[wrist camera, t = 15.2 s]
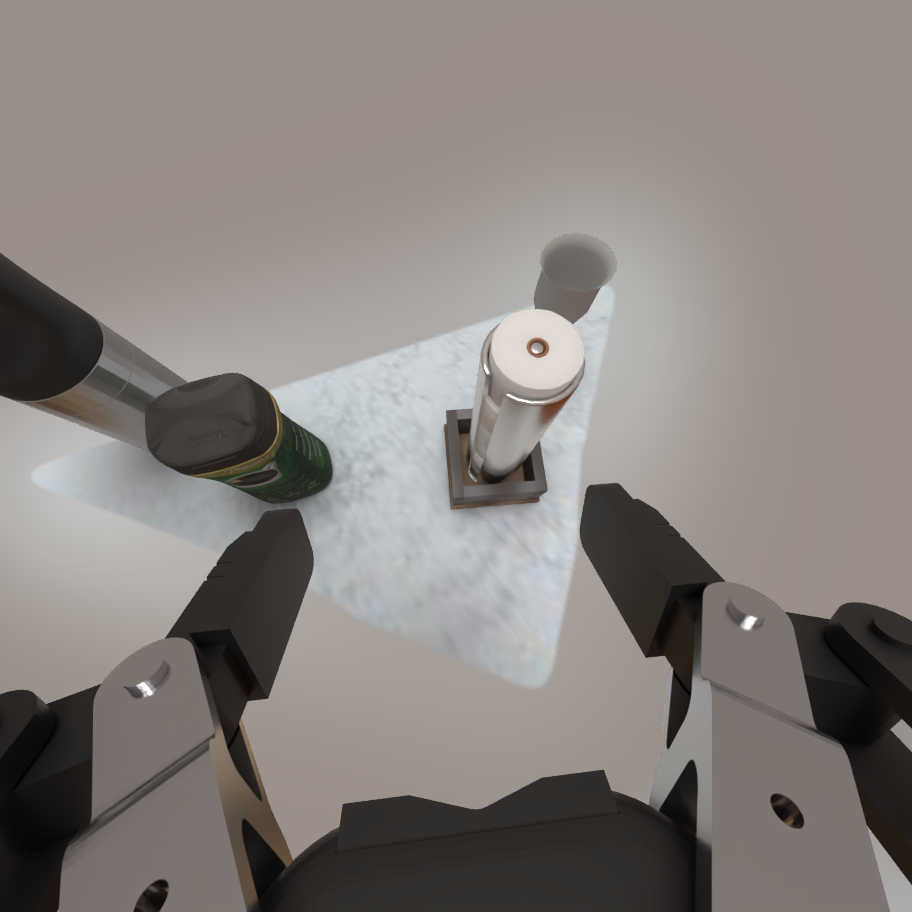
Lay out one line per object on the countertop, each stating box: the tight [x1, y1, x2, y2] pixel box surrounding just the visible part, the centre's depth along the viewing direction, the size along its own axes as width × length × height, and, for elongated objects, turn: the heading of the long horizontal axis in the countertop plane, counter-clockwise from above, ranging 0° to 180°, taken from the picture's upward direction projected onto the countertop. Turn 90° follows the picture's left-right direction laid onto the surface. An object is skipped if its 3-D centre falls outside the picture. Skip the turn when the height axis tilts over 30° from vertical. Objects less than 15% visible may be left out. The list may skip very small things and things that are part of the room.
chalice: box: [534, 233, 617, 324], centre depth 41 cm, size 7×7×18 cm
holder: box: [444, 409, 548, 509], centre depth 43 cm, size 11×11×6 cm
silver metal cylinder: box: [466, 309, 585, 485], centre depth 33 cm, size 6×6×25 cm
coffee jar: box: [145, 373, 332, 503], centre depth 36 cm, size 10×8×19 cm
